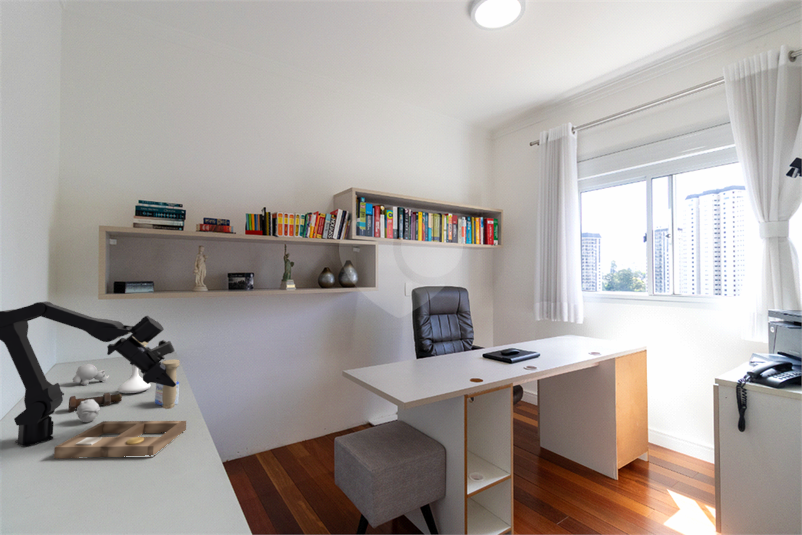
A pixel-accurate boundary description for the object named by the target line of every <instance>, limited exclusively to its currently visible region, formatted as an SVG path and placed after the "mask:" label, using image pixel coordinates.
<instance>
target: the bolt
mask: <svg viewBox="0 0 802 535" xmlns="http://www.w3.org/2000/svg"><path fill="white" fill-rule="evenodd" d="M88 399H94V401H95V402H96V403H98V405H99V406H103V407H108V406H110V405H111V404H116V403H117V404H118V403H121V402H122V400H123V393H116V394H111V393H110V392H105V393H104V394H103V395H99V396H92V397H84V398H83V397H81V398H77V397H76V395H71V396H69V399H68V412H69V413H75V412H76V410H77V407H78V406H79V405H80V404H81V402H82V401H85V400H88ZM74 411H75V412H74Z"/></svg>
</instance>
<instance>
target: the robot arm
mask: <svg viewBox="0 0 802 535" xmlns="http://www.w3.org/2000/svg"><path fill="white" fill-rule="evenodd" d="M37 318H44V319H48V320H51V321H54V322H57V323H59V324H63V325H66V326H69V327H73V328H76V329H79V330H82V331H84V332H86V333H87V334H88V335H89V336H90V337H92V338H95V339H96V340H99V341H101V342H102V343H109V344H108V345H107V354H106V355H107V356H109V355H111V354H112V353H113V352H115V351H116V352H117V353H118V354H119V355H120V356H122V357H123V358H124V359H126V360H127V361H128V362H129V365H131V366H132V365H135V366H136V367H137V368H138V369H139V371H140V373H142V378H143V381H144V382H146V383H147V384H149V383H150V384H151V383H152V384H156V383H157V384H162V385H166V386H170V387H174V386H176V383H175V382H174V381H173V380H172V379H171V377H170V376H169V375H168V374H167V373H166V369H167V367H166V366H165V365H164V364H163V363H162V362H161V361H162V360H163V361H165V360H166V358H165V356H166V355H168V354H173V353H174V352H175V348H174V346H173V344H172V342H171V341H170V340H168V341H166V340H164V339H162V340H160V341H158V343H157V344H158V346H157V345H156V346H155V347H154V348H151V347H149V346H146V347H145V346H143V345H142V344H141V343H143V342H147V343H148V342H151V341H152V340H153V339H155V337H157V336H158V335H160V334H161V333H162V332H163V331H164V326H163V325H162V324H161V323H160V322H159V321H156V320H155V319H154V318H152V317H150V316H149V315H145V316H144V317H142V318H141V320H140V321H138V322H137V323H135V325H129V324H124V323H122V321H119V320H113V319H107V318H99V317H92V316H89V315H86V314H84V313H81V312H77V311H75V310H72V309H68V308H67V307H66V308H65V307H63V306H59V305H56V304H53V303H52V302H50V301H38V302H35V303H33V304H30V305H26V306H23V307H20V308H16V309H7V310H5V309H4V310H0V341H1V342H3V344H4V346H5V347H6V349H7V351H8V353H9V356H10V358H11V360H12V362H13V365H14V366H15V369H16V372H17V374H18V375H19V376H18V377H20V380H21V382H22V384H23V387H24V390H25V393H24V398H23V401H24V406H25V409H24V410H23V411H22V412H20V413H19V414H17V416H16V417H14V422H15V425H16V426H18V431H17V432H18V434H17V439H16V440H14V443H15V444H17V445H19V446H21V447H23V448H26V447H30V446H35V445H37V444H39V443H44V442H47V441H50V440H53V439H54V436H53V434H54V420H52V419H53V418H52V416H51V415H53V414H54V412H55V410H56V409H57V408H59V407H60V405H61V404H62V403H63V400H64V399H63V398H64V397H63V396H64V395H65V393H64V392H63V391H62V390H61V387H60V383H59V382H56V383H54V384H52V383H51V382H50V381H48V380H47V378H46V376H45V373H44V372H43V369H42V366H41V365H40V362H39V360H38V358H37V355H36V353H35V351H34V348H33V346H32V344H31V343H30V342H31V341H30V340H29V337H28V333H29V322H30V321H33V320H35V319H37ZM128 334H130V335H128ZM127 335H128V336H127ZM125 336H127V337H126V338H125ZM117 339H118V340H117ZM116 340H117V341H116ZM113 341H115V342H114V343H110V342H113ZM140 342H141V343H140ZM148 344H149V343H148Z"/></svg>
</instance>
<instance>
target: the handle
mask: <svg viewBox="0 0 802 535" xmlns="http://www.w3.org/2000/svg"><path fill="white" fill-rule="evenodd" d="M161 363H163V364H164V365H165V366H166V367H167V369H166V373H167V374H168V375H169V376H170V377H171V379H172V380H173V381H174V382H175V383H176V381H177V369H178V367H180V360H179V359H164V360H163V361H162V362H161ZM162 398H163V399H162V400H163V406H162V409H165V410H169V409H170V410H171V409H172V408H175V406H176V405H175V403H174V402H175V398H176V386H174V387H170V386H166V385H163V393H162Z"/></svg>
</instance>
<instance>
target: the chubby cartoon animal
mask: <svg viewBox="0 0 802 535" xmlns="http://www.w3.org/2000/svg"><path fill="white" fill-rule="evenodd" d="M75 373H76V374H75V375H74V377H72V382H73V383H74V384H81V385H83V386H88V385H89V383H90V380H92V379H94V380H96V381H99V382H100V381H104V382H106V381H107V379H109V377H110V375H109V374H108V375H106V372H105V369H102V370H98V369H97V367H96V366H95V365H94V364H92V363H85V364H81V365H80V366H78V367H77V370H76V372H75ZM87 384H88V385H87Z"/></svg>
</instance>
